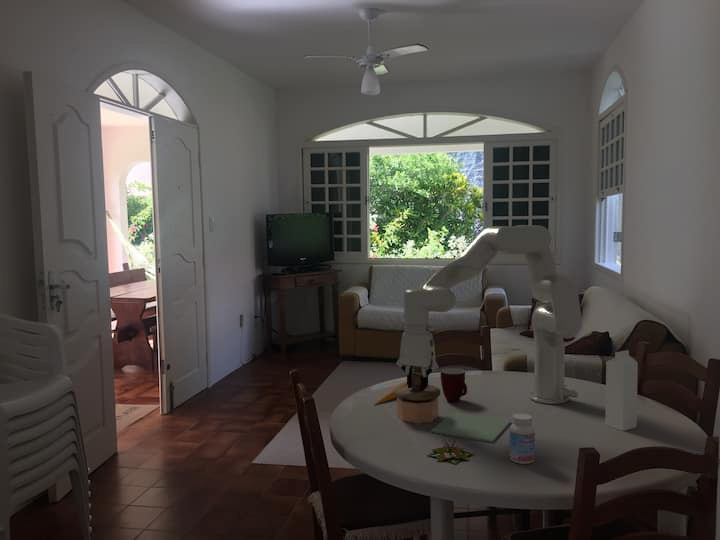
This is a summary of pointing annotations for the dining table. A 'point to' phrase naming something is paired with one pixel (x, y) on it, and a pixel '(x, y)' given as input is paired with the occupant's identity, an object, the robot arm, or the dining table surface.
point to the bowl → (417, 410)
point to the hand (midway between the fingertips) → (417, 387)
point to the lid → (417, 390)
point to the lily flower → (450, 450)
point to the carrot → (390, 395)
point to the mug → (453, 384)
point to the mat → (472, 427)
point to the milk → (621, 391)
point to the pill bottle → (522, 439)
